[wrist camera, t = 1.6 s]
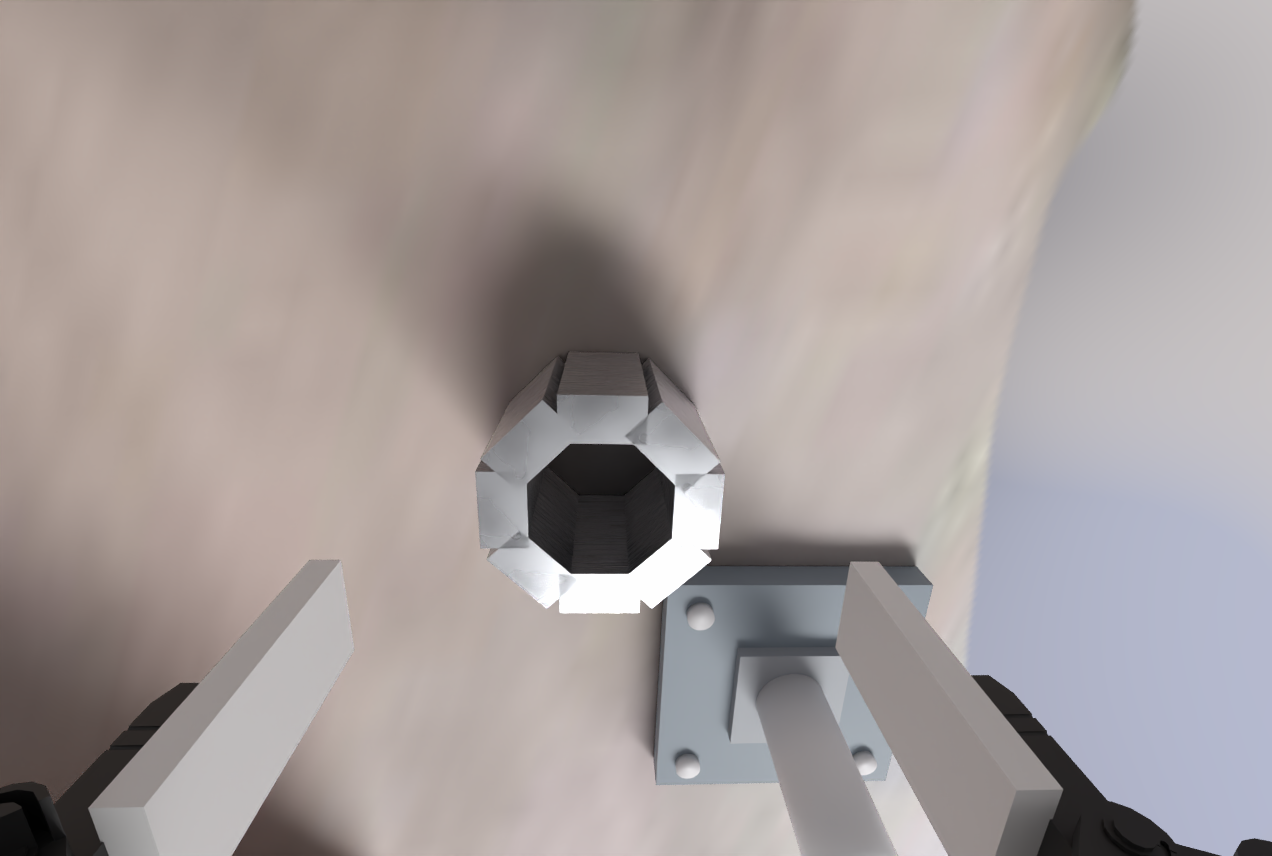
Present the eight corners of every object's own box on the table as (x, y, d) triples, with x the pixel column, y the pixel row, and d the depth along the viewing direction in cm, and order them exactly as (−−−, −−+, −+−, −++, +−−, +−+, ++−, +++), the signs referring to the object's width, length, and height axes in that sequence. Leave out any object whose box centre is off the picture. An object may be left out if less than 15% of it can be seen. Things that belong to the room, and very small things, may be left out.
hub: (503, 349, 23) (470, 392, 18) (702, 354, 24) (732, 397, 18) (510, 527, 26) (484, 613, 20) (689, 528, 26) (712, 612, 21)
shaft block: (665, 565, 27) (696, 752, 18) (916, 566, 28) (1075, 745, 18) (653, 759, 31) (674, 994, 22) (872, 755, 32) (984, 981, 22)
